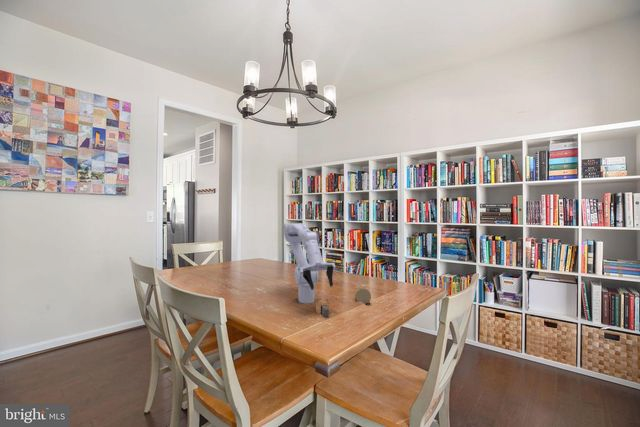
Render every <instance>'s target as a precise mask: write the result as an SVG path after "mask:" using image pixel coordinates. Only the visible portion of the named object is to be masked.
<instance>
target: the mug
mask: <svg viewBox="0 0 640 427" xmlns="http://www.w3.org/2000/svg"><path fill="white" fill-rule="evenodd" d="M371 299H372V294H371V292H370V290H369V289H367V288H364V287H363V288H359V289H357V290H356V291H355V295H354V300H355V301H357V303H362V304H364V305H367V304H368V303H370V301H371Z"/></svg>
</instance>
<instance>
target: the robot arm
mask: <svg viewBox="0 0 640 427" xmlns="http://www.w3.org/2000/svg"><path fill="white" fill-rule="evenodd" d="M283 235H284V239H285V241H286V242H288V243H289V246H290V249H291V250H292V254H293V256H294V259H295V263H296V265H297V266H296V267H295V268H294V272H293V276H294V282H295V283H296V285H297V286H298V292H297V293H298V294H297V298H298V303H301V304H312V303H314V302H315V286H316V283H318V281H319V272H320V271H326V277H327V279H328V285H329V287H330V288H332V287H333V285H334V282H333V274H334V270H335V269H336V264H335V262H324V260H323V256H322V254H321V253H322V252H321V250H320V245H319V241H320V237H319V233H318V232H317V231H312V230H310V229H309V228H308V227H307V226H305V225H304V223H302V222H299V223H287V222H285V223H284V225H283ZM303 248H304V250H305V252H306V255H305V252H304V250H303ZM306 256H307V258H306Z"/></svg>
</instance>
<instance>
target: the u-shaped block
mask: <svg viewBox="0 0 640 427" xmlns="http://www.w3.org/2000/svg"><path fill="white" fill-rule="evenodd" d="M321 306H326V307H327V308H328V309H329V314H330V313H331V310H330V309H331V304H330V300H329V299H328V298H326V299H321V300H317V299H316V300H315V311H316V313H317V314H319V315H320V314H322V313H321Z"/></svg>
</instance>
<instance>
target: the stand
mask: <svg viewBox="0 0 640 427" xmlns="http://www.w3.org/2000/svg"><path fill="white" fill-rule="evenodd" d="M316 300H322V299H321V298H317V299H316ZM320 314H322V316H323V318H324V319H330V313H329V309H328V308H327V307H326V306H321V313H320Z"/></svg>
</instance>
